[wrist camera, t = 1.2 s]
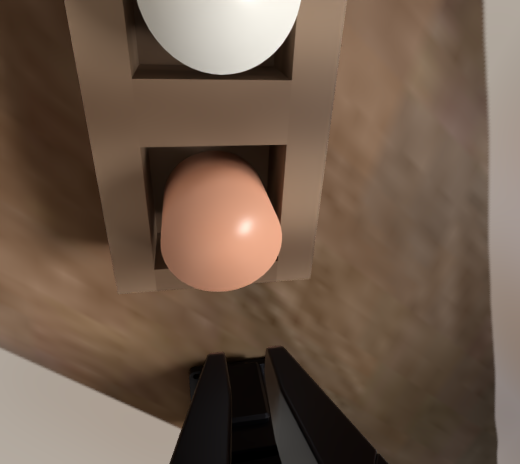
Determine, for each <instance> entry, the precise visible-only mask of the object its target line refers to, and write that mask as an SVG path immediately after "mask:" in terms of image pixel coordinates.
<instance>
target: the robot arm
mask: <svg viewBox="0 0 520 464" xmlns="http://www.w3.org/2000/svg"><path fill="white" fill-rule="evenodd" d="M189 380H190V393H191V404H190V407H189V409H188V412H187V415H186V418H185V421H184V424H183V427H182V429H181V432H180V435H179V438H178V441H177V444H176V447H175V449H174V453H173V455H172V458H171V461H170V464H388V463H387V462H386V460H385V459H384V458H383V457H382V456H381V455H380V454H377V451H376V449H375V448H374V447H373V446H372V445H371V444H370V443H369V442H368V441H367V439H366V438H365V437H364V436H363V435H362V434H361V433H360V432H359V430H358V429H357V428H356V427H355V426H354V425H353V424H352V423H351V422H350V420H349V419H348V418H347V417H346V416H345V415H344V414H343V413H342V412H341V410H340V409H339V408H338V407H337V406H336V405H335V404H334V403H333V401H332V400H331V399H330V398H329V397H328V396H327V395H326V394H325V393H324V391H323V390H322V389H321V388H320V387H319V386H318V385H317V384H316V383H315V381H314V380H313V379H312V378H311V377H310V376H309V375H308V374H307V372H306V371H305V370H304V369H303V368H302V367H301V366H300V365H299V364H298V362H297V361H296V360H295V359H294V358H293V357H292V356H291V355H290V354H289V352H288V351H287V350H286V349H285V348H284V347H283V346H273V347H268V348H267V349H266V354H265V359H258V360H250V361H241V362H232V363H227V362H226V356H225V353H223V352H218V353H210V354H208V356H207V358H206V361H205V364H204V366H197V367H193V368H191V369H190V371H189Z"/></svg>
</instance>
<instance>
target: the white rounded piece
mask: <svg viewBox="0 0 520 464" xmlns="http://www.w3.org/2000/svg"><path fill="white" fill-rule="evenodd" d="M137 3H138V6H139V9H140V11H141V14H142V16H143V19H144V21H145V23H146V24H147V26H148V28H149V30H150V31H151V33H152V34H153V36H154V37H155V39H156V40H157V41H158V42H159V43H160V45H161V46H162V47H163V48H164V49H165V50H166V51H167V52H168V53H169V54H171V55H172V56H173V57H174V58H176V59H177V60H178V61H180V62H181V63H183V64H185V65H187V66H189V67H191V68H193V69H196V70H198V71H201V72H205V73H210V74H219V75H225V74H235V73H240V72H243V71H246V70H249V69H251V68H253V67H255V66H257V65H259V64H261V63H262V62H264V61H265V60H266V59H268V58H269V57H270V56H271V55H272V54H273V53H275V52H276V50H277V49H278V48H279V47H280V46H281V45H282V43H283V42H284V40H285V39H286V37H287V36H288V34H289V33H290V31H291V29H292V27H293V25H294V22H295V20H296V17H297V14H298V11H299V7H300V3H301V0H137Z"/></svg>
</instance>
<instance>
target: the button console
mask: <svg viewBox="0 0 520 464" xmlns="http://www.w3.org/2000/svg"><path fill="white" fill-rule="evenodd" d="M64 3H65V8H66V14H67V19H68V25H69V30H70V35H71V41H72V46H73V52H74V57H75V63H76V68H77V74H78V79H79V85H80V90H81V95H82V101H83V106H84V112H85V117H86V123H87V128H88V134H89V139H90V144H91V150H92V155H93V161H94V166H95V172H96V177H97V183H98V188H99V193H100V199H101V204H102V210H103V215H104V221H105V226H106V232H107V237H108V243H109V248H110V253H111V259H112V264H113V270H114V275H115V281H116V286H117V292H118V294H126V293H139V292H151V291H163V290H176V289H188V288H194V287H191V286H189V285H187V284H185V283H184V282H182V281H181V280H179V279H178V278H177V277H176V276H175V275H174V274H173V273H172V272H171V271H170V270H169V268H168V267H167V265H166V263H165V262H164V259H163V256H162V252H161V227H162V211H163V194H164V188H165V184H166V181H167V179H168V177H169V175H170V174H171V172H172V171H173V169H174V168H175V167H176V166H177V165H178V164H179V163H180V162H182V161H183V160H185V159H186V158H188V157H190V156H192V155H194V154H197V153H200V152H204V151H213V150H215V151H225V152H229V153H232V154H235V155H237V156H239V157H241V158H243V159H244V160H246V161H247V162H248V163H249V164H250V165H251V166H252V167H253V168H254V169H255V171H256V172H257V174H258V175H259V178H260V180H261V182H262V184H263V186H264V189H265V191H266V193H267V195H268V198H269V200H270V202H271V204H272V206H273V209H274V211H275V213H276V215H277V218H278V220H279V223H280V226H281V231H282V243H281V248H280V252H279V254H278V256H277V259H276V260H275V262H274V264H273V265H272V266H271V268H270V269H269V270H268V271H267V272H266V273H265V274H264V275H263V276H261V277H260V278H259V279H258V280H256V281H254V282H253V283H263V282H276V281H288V280H300V279H310V276H311V268H312V260H313V253H314V245H315V238H316V230H317V223H318V215H319V208H320V200H321V193H322V185H323V178H324V170H325V162H326V155H327V147H328V140H329V132H330V125H331V117H332V110H333V102H334V95H335V87H336V79H337V72H338V64H339V57H340V49H341V42H342V34H343V27H344V19H345V12H346V4H347V0H301V3H300V7H299V11H298V14H297V17H296V20H295V22H294V25H293V27H292V29H291V31H290V33H289V34H288V36H287V37H286V39H285V40H284V42H283V43H282V45H281V46H280V47H279V48H278V49H277V50H276V52H275V53H273V54H272V55H271V56H270V57H269V58H268V59H266V60H265V61H264V62H262V63H261V64H259V65H257V66H255V67H253V68H251V69H249V70H246V71H243V72H240V73H235V74H225V75H219V74H210V73H205V72H201V71H198V70H196V69H193V68H191V67H189V66H187V65H185V64H183V63H181V62H180V61H178V60H177V59H176V58H174V57H173V56H172V55H171V54H169V53H168V52H167V51H166V50H165V49H164V48H163V47H162V46H161V45H160V43H159V42H158V41H157V40H156V39H155V37H154V36H153V34H152V33H151V31H150V30H149V28H148V26H147V24H146V23H145V21H144V19H143V16H142V14H141V11H140V9H139V6H138V3H137V0H64Z"/></svg>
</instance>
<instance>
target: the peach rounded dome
mask: <svg viewBox="0 0 520 464" xmlns="http://www.w3.org/2000/svg"><path fill="white" fill-rule="evenodd" d="M281 243H282V231H281V226H280V223H279V220H278V218H277V215H276V213H275V211H274V209H273V206H272V204H271V202H270V200H269V198H268V195H267V193H266V191H265V189H264V186H263V184H262V182H261V180H260V178H259V175H258V174H257V172H256V171H255V169H254V168H253V167H252V166H251V165H250V164H249V163H248V162H247V161H246V160H244V159H243V158H241V157H239V156H237V155H235V154H232V153H229V152H225V151H215V150H213V151H204V152H200V153H197V154H194V155H192V156H190V157H188V158H186V159H185V160H183V161H182V162H180V163H179V164H178V165H177V166H176V167H175V168H174V169H173V171H172V172H171V174H170V175H169V177H168V179H167V181H166V184H165V188H164V194H163V211H162V227H161V252H162V256H163V259H164V262H165V263H166V265H167V267H168V268H169V270H170V271H171V272H172V273H173V274H174V275H175V276H176V277H177V278H178V279H179V280H181V281H182V282H184V283H185V284H187V285H189V286H191V287H194V288H197V289H200V290H205V291H213V292H222V291H230V290H235V289H239V288H241V287H244V286H247V285H249V284H251V283H253V282H254V281H256V280H258V279H259V278H260V277H261V276H263V275H264V274H265V273H266V272H267V271H268V270H269V269H270V268H271V266H272V265H273V264H274V262H275V260H276V259H277V256H278V254H279V252H280V248H281Z"/></svg>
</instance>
